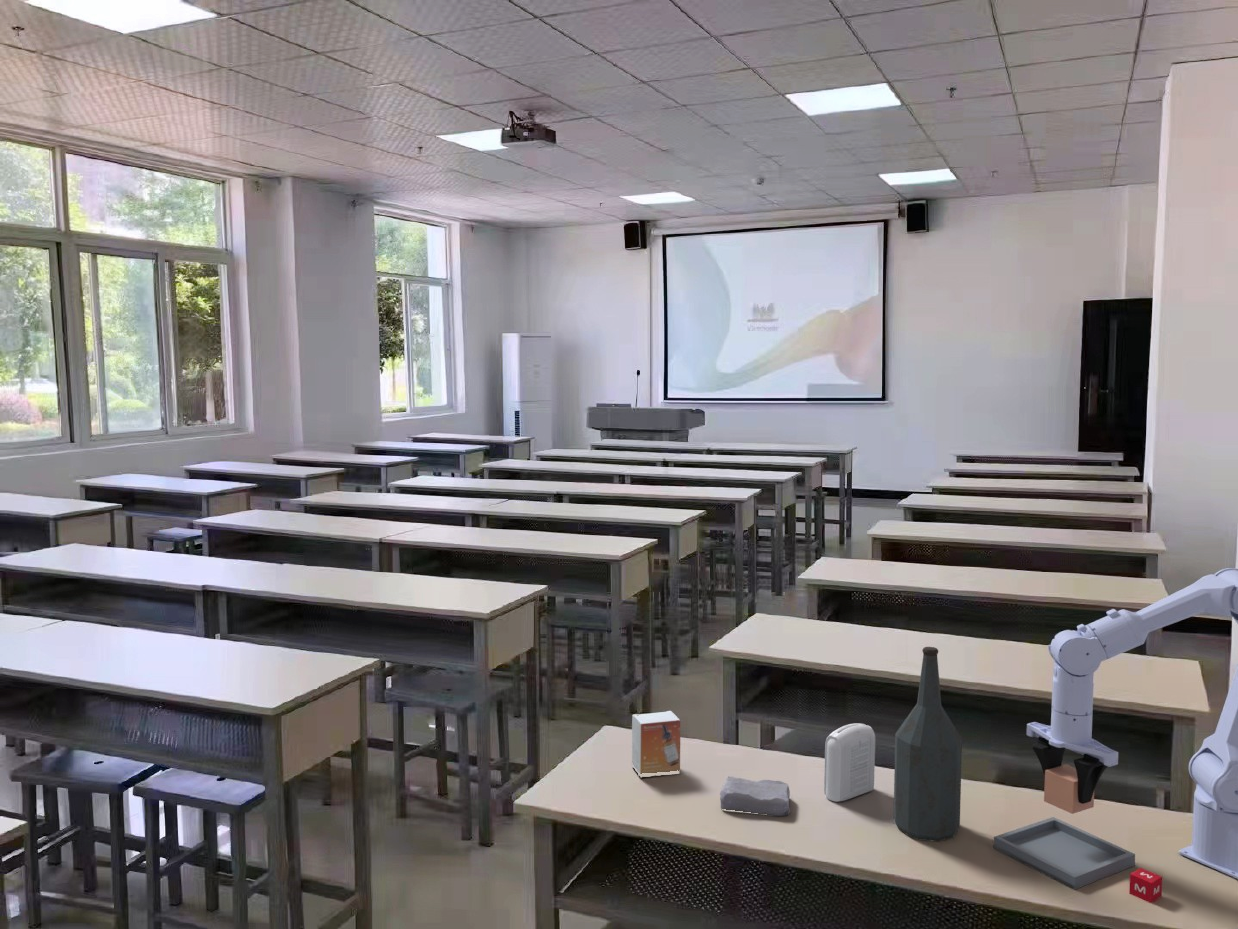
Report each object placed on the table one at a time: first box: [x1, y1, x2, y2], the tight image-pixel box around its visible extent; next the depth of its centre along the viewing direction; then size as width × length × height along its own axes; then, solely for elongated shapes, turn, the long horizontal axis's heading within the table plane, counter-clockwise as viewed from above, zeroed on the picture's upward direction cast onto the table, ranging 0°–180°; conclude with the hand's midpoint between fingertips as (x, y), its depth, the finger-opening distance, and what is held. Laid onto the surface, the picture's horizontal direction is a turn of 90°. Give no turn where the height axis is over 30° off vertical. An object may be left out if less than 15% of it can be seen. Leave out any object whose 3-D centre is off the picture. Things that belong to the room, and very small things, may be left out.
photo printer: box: [823, 722, 876, 803], centre depth 167 cm, size 10×4×12 cm, turn 126°
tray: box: [993, 816, 1136, 890], centre depth 145 cm, size 14×14×2 cm
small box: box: [631, 710, 682, 774], centre depth 177 cm, size 8×6×10 cm
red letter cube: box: [1128, 867, 1163, 904], centre depth 134 cm, size 3×3×3 cm
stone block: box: [719, 776, 790, 817], centre depth 164 cm, size 12×5×10 cm
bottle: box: [893, 646, 963, 842], centre depth 153 cm, size 10×10×30 cm
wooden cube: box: [1043, 763, 1095, 815], centre depth 147 cm, size 5×5×5 cm
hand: (1068, 795), depth 147 cm, fingers closed on wooden cube, 5 cm apart
